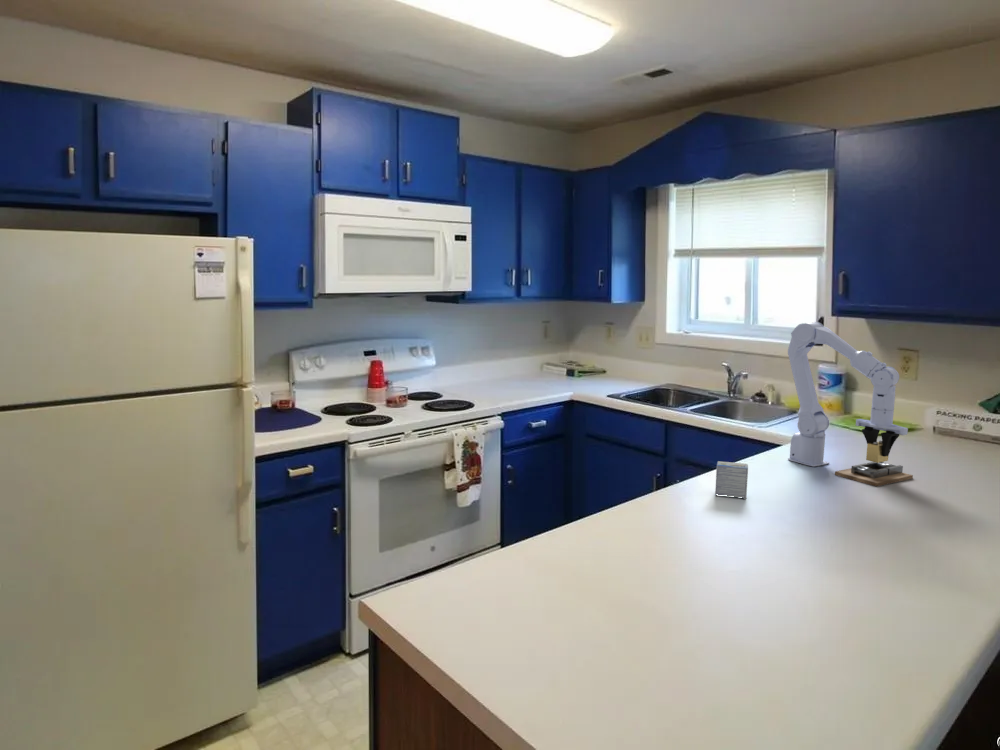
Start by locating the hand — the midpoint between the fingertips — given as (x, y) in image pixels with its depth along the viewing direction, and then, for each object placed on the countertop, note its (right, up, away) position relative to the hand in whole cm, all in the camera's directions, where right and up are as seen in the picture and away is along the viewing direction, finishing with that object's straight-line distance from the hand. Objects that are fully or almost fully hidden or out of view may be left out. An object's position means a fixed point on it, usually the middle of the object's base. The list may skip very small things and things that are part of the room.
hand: (878, 454), depth 201 cm
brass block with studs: (0, -2, 0) cm, 2 cm away
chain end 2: (+3, -5, +3) cm, 7 cm away
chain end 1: (-3, -6, -1) cm, 7 cm away
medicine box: (-50, -9, -19) cm, 54 cm away
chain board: (-1, -7, 0) cm, 7 cm away
